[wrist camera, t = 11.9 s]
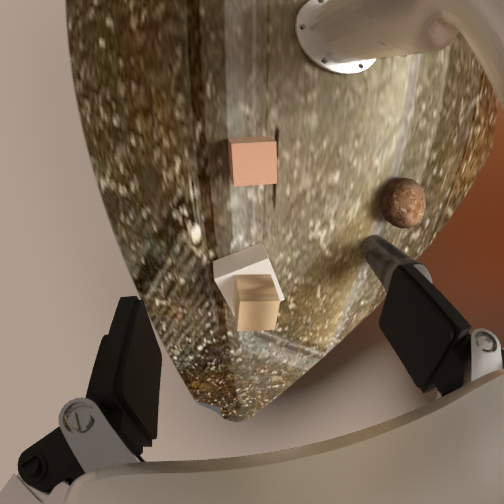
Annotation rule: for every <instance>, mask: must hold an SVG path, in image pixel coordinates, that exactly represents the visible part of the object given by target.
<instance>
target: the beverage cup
mask: <svg viewBox="0 0 504 504" xmlns="http://www.w3.org/2000/svg"><path fill="white" fill-rule="evenodd" d="M361 250H362V254H363V256H364V257H365V259H366V261H367V262H368V264H369V265H370V267H371V268H372V270H373V271H374V272H375V274H376V275H377V277H378V278H379V280H380V281H381V283H382V285H383V286H384V289H385V291H386V293H387V292H388V289H389V285H390V281H391V277H392V274H393V271H394V270H395V269H396V267H397V266H398V265H402V264H408V263H411V264H413V265H414V266H415V267H416V268H417V269H418V270H419V271H420V272H421V273H422V274H423V275H424V276H425V277H426V278H427V279H428V280H429V281H430V282H431V283H432V279H431V276H430V274H429V272H428V271H427V269H426V267H425V266H424V265H423V264H422V263H419V262H418V261H416V260H414V259H411V258H410V257H409V256H407V255H406V254H405V253H403V252H402V251H401V250H399V249H398V248H396V247H395V246H394V245H392V244H391V243H389V242H388V241H387V240H385V239H383V238H382V237H380V236H378V235H372V236H370V237H368V238H367V239H366V240H365V241H364V243H363V245H362V249H361Z"/></svg>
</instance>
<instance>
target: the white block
mask: <svg viewBox="0 0 504 504" xmlns="http://www.w3.org/2000/svg"><path fill="white" fill-rule="evenodd" d="M213 272H214V280H215V282H216V284H217V286H218V288H219V289H220V291H221V293H222V295H223V296H224V298H225V300H226V302H227V304H228V305H229V307H230V309H231V311H232V312H233V314H234V316H235V312H234V305H233V298H234V283H235V274H271V277H272V279H273V282H274V285H275V288H276V290H277V293H278V296H279V299H280V301H282V300H285V299H284V296H283V294H282V291H281V289H280V286H279V283H278V281H277V278H276V276H275V273H274V271H273V268H272V266H271V263H270V261H269V258H268V255H267V253H266V250H265V248H264V245H263V243H262V242H261V243H258V244H256V245H253V246H251V247H248V248H246V249H243V250H241V251H238V252H236V253H233V254H230V255H228V256H225V257H223V258H220V259H218V260H215V261H213Z"/></svg>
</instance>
